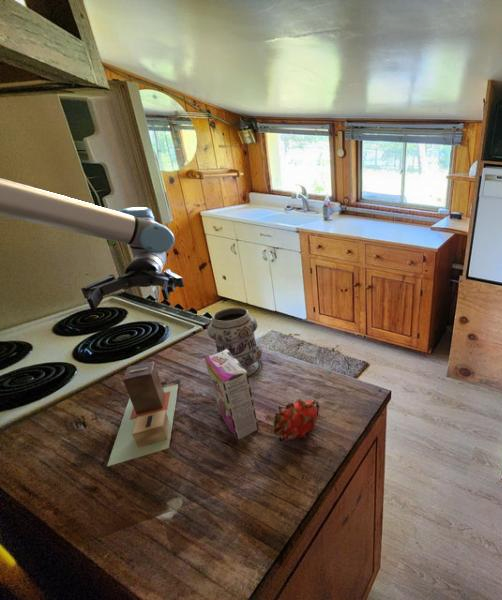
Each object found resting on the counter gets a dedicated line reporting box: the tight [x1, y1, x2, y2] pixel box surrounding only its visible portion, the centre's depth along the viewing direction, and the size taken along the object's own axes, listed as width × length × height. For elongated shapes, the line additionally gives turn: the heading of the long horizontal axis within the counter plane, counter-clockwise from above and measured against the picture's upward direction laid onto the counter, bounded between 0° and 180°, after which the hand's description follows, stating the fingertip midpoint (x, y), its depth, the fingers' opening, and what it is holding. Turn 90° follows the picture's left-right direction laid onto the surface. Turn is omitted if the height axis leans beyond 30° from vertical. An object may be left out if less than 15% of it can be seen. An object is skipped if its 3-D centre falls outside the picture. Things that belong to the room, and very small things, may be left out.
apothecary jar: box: [207, 306, 263, 379], centre depth 87 cm, size 12×12×18 cm
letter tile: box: [132, 410, 170, 448], centre depth 68 cm, size 5×5×4 cm
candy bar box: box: [204, 349, 259, 441], centre depth 70 cm, size 11×5×16 cm, turn 45°
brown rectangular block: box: [122, 361, 165, 414], centre depth 75 cm, size 5×5×10 cm
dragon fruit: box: [272, 398, 320, 442], centre depth 71 cm, size 8×8×12 cm
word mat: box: [106, 383, 179, 468], centre depth 73 cm, size 10×22×1 cm, turn 27°
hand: (129, 299), depth 75 cm, fingers open, 13 cm apart
